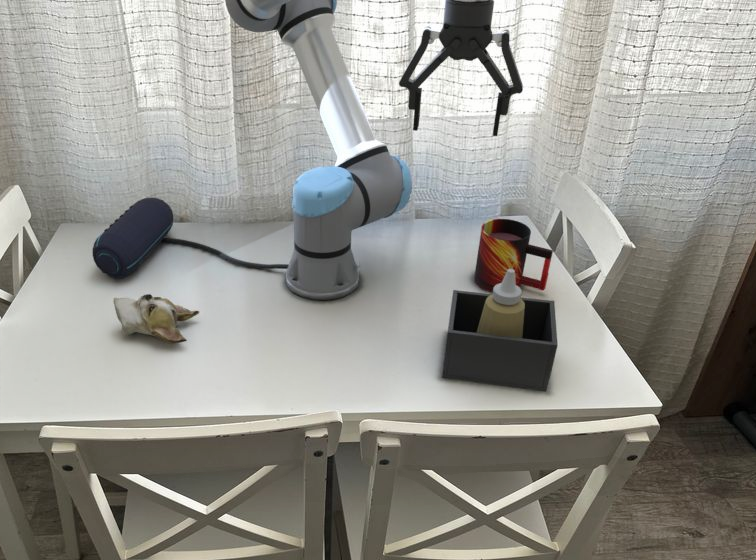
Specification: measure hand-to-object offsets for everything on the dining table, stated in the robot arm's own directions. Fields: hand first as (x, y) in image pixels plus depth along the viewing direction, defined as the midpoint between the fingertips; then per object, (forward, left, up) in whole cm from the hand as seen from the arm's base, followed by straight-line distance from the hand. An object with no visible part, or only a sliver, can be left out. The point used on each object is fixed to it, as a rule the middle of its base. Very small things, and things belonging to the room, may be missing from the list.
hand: (455, 130), depth 125 cm
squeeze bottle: (+12, -19, -34) cm, 41 cm away
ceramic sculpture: (-51, -23, -35) cm, 66 cm away
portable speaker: (-67, +4, -35) cm, 76 cm away
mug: (+14, +10, -35) cm, 39 cm away
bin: (+12, -18, -35) cm, 41 cm away
